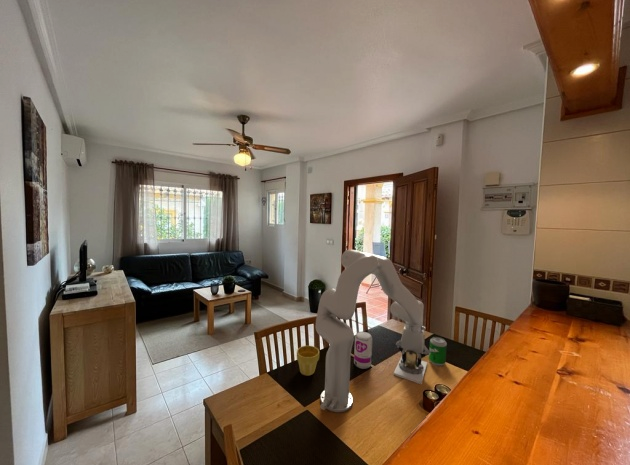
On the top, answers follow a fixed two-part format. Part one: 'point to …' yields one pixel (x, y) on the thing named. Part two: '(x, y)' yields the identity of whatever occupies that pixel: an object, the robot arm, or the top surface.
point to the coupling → (411, 359)
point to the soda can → (437, 351)
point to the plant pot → (307, 359)
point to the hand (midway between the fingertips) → (411, 363)
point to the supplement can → (363, 350)
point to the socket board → (411, 372)
